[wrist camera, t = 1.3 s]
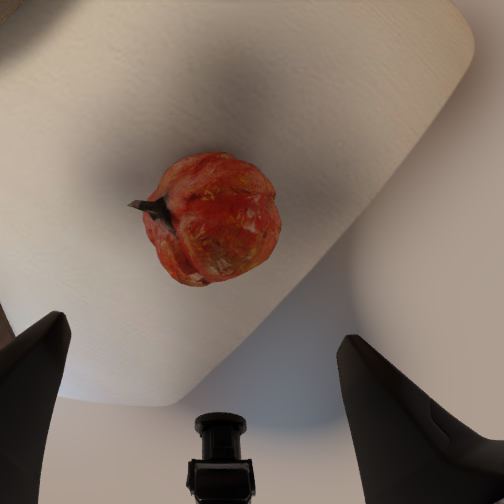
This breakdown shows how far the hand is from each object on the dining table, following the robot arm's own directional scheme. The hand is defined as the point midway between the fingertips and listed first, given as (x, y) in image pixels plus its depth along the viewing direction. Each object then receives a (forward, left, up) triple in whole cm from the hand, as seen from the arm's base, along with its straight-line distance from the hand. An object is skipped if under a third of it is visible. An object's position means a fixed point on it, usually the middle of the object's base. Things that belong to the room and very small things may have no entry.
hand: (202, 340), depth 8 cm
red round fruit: (0, 0, -12) cm, 12 cm away
